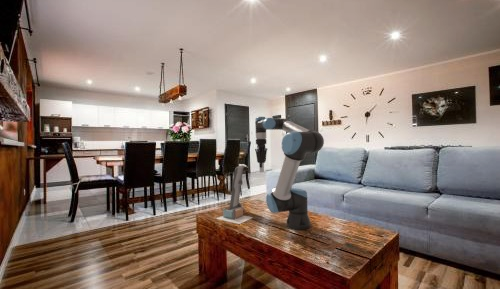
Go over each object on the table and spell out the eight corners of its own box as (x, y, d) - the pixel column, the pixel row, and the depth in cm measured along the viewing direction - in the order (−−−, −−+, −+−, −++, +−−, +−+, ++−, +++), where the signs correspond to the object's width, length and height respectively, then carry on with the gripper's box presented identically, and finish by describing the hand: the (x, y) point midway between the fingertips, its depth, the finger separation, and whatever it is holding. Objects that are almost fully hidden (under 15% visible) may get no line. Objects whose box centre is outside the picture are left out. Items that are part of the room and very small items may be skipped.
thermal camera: (243, 212, 179) (242, 167, 179) (226, 212, 180) (225, 167, 180) (245, 208, 191) (244, 165, 191) (229, 208, 192) (228, 165, 192)
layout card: (253, 217, 167) (253, 217, 167) (239, 224, 154) (239, 223, 154) (230, 213, 179) (230, 212, 179) (216, 218, 166) (216, 218, 166)
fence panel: (241, 214, 172) (241, 206, 172) (243, 214, 172) (243, 206, 172) (234, 217, 166) (234, 209, 166) (236, 217, 165) (235, 209, 165)
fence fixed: (235, 219, 164) (235, 209, 164) (234, 219, 163) (233, 209, 163) (224, 216, 171) (224, 207, 171) (222, 217, 169) (222, 207, 169)
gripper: (261, 138, 174) (262, 170, 174) (251, 138, 164) (252, 172, 164) (270, 138, 170) (271, 171, 170) (260, 138, 159) (261, 173, 159)
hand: (261, 171), depth 167 cm, fingers closed
